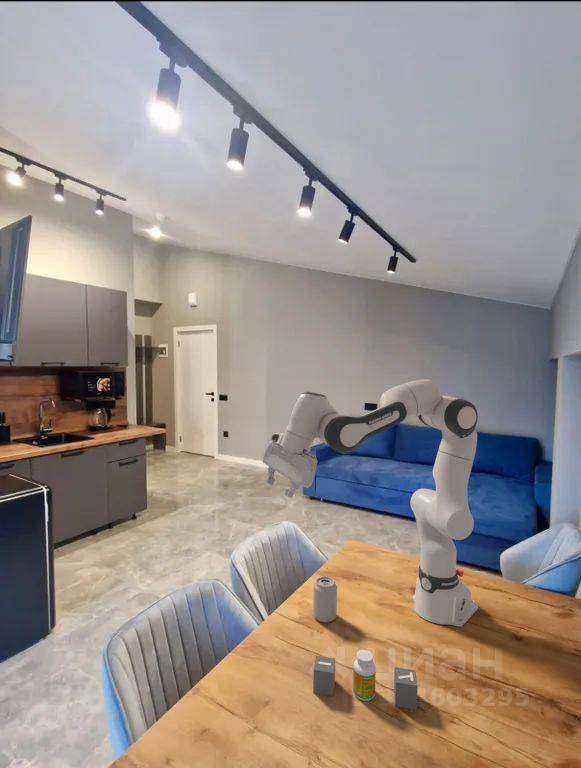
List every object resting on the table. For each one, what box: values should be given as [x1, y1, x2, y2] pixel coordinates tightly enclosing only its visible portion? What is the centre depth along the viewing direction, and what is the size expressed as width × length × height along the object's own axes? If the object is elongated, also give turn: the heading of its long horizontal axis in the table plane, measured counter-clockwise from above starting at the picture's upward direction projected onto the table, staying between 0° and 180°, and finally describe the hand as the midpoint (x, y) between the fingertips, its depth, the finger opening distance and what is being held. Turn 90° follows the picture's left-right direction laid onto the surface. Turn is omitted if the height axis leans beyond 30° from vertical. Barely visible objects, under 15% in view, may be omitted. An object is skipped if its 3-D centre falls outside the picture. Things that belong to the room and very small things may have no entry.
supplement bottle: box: [352, 649, 377, 702], centre depth 102 cm, size 5×5×10 cm
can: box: [312, 575, 338, 624], centre depth 132 cm, size 8×8×12 cm
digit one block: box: [312, 655, 336, 697], centre depth 103 cm, size 5×5×6 cm
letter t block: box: [393, 666, 418, 711], centre depth 100 cm, size 5×5×6 cm
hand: (278, 490), depth 117 cm, fingers open, 8 cm apart
